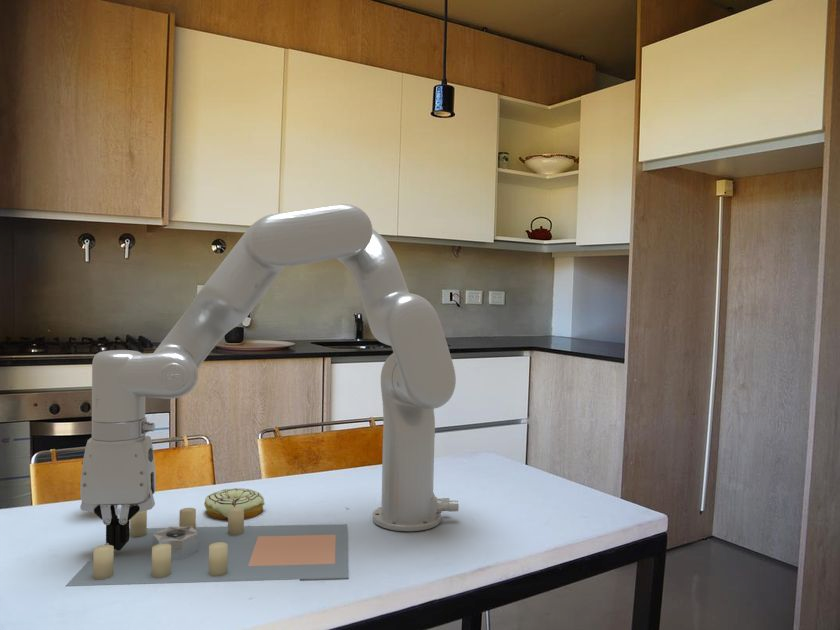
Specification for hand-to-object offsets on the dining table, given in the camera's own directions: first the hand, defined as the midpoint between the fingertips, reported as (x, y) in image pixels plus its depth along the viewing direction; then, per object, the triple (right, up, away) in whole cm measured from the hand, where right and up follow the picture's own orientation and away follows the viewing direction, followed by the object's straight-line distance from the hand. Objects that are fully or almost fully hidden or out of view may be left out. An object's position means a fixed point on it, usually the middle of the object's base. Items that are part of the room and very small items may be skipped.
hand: (117, 546), depth 101 cm
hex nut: (+9, -1, +1) cm, 9 cm away
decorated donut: (+12, -1, +21) cm, 24 cm away
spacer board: (+16, -2, +2) cm, 16 cm away
